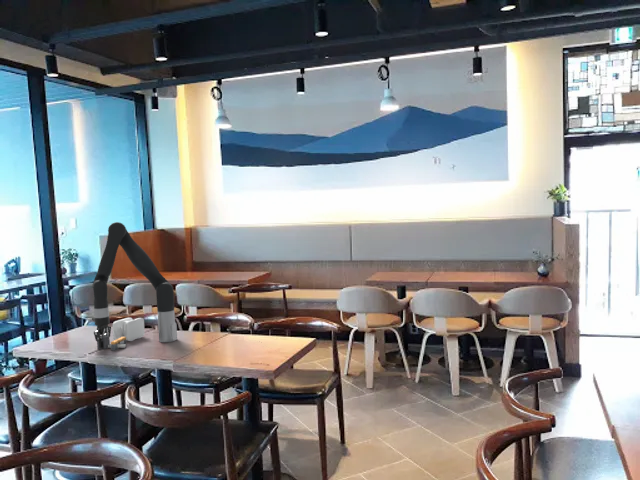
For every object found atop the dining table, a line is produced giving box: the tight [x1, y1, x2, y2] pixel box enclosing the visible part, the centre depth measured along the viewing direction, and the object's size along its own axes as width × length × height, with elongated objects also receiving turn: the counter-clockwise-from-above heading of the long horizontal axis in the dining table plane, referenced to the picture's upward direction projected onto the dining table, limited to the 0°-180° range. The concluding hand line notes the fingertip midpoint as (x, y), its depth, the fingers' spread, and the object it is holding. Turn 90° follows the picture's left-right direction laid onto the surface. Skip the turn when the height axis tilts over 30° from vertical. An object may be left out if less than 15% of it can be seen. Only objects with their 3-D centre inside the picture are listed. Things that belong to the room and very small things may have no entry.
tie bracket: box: [110, 337, 127, 352], centre depth 285 cm, size 2×11×5 cm, turn 172°
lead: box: [96, 336, 127, 350], centre depth 285 cm, size 15×4×6 cm, turn 82°
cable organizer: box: [111, 317, 146, 342], centre depth 304 cm, size 15×11×12 cm
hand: (103, 346), depth 286 cm, fingers closed on lead, 4 cm apart
